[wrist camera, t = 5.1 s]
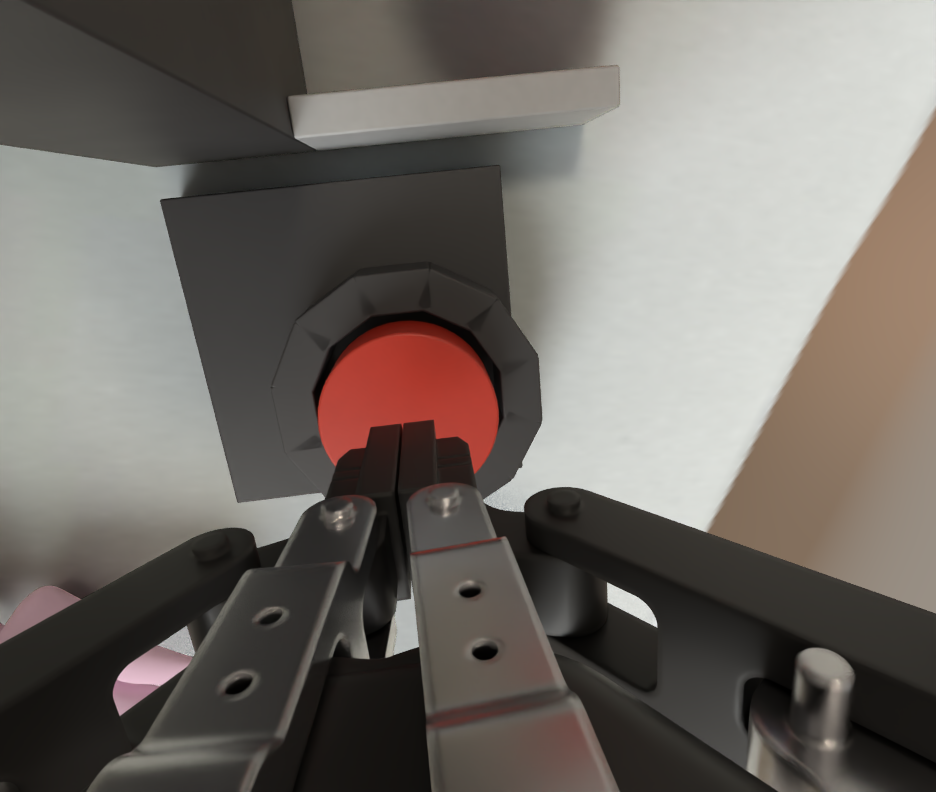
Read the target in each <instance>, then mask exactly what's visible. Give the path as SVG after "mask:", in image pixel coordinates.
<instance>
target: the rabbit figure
mask: <svg viewBox="0 0 936 792" xmlns="http://www.w3.org/2000/svg"><path fill="white" fill-rule="evenodd" d="M79 600H81V599H80V598H78V597H76V596H74V595H72V594H70V593H69V592H67V591H65V590H63V589H60V588H58V587H55V586H43V587H40V588H38V589H36V590H35V591H33V592H32V593H31V594H29V595H28V596H27V597H26V598H25V599H24V600H23V601H22V602H21V603H20V604H19V606H18V607H17V608H16V610H15V611H14V612H13V614H12V615H11V617H10V618H9V620H8V621H7V623H6V624H5V625H3V624H2V623H0V644H1V643H3V642H5V641H6V640H8V639H10V638H12V637H14V636H16V635H17V634H19V633H21V632H23V631H25V630H26V629H28V628H30V627H32V626H34V625H36V624H37V623H39V622H41V621H43V620H45V619H46V618H48V617H50V616H52V615H54V614H56V613H57V612H59V611H61V610H63V609H65V608H66V607H68V606H70V605H72V604H74V603H76V602H77V601H79ZM192 658H193V657H191V656H187V655H184V654H181V653H178V652H175V651H172V650H169V649H166V648H164V647H160V646H158V645H157V646H155V647H154V648H152V649H151V650H149V651H148V652H146V653H145V654H143V655H142V656H140V657H139V658H137V659H136V660H134V661H133V662H132V663H130V664H129V665H128V666H127V667H126V668H125V669H124V670H123V671H122V672H121V674H120V675H119V677H118V678H117V680H116V682H115V685H114V689H113V699H114V702H115V705H116V707H117V710H118V713H119V715H122V714H123V713H124V712H126V711H127V710H129V709H130V708H131V707H133V706H134V705H135V704H137V703H138V702H139V701H141V700H142V699H144V698H145V697H146V696H148V695H149V694H150V693H152V692H153V691H154V690H156V689H157V688H159V687H160V686H156V685H163V684H164V683H165V682H167V681H168V680H170V679H171V678H172V677H174V676H175V675H176V674H178V673H179V672H180V671H182V670H183V669H185V668H186V667H187V666H188V665H189V663H190V661H191V660H192ZM152 684H153V685H152Z"/></svg>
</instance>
